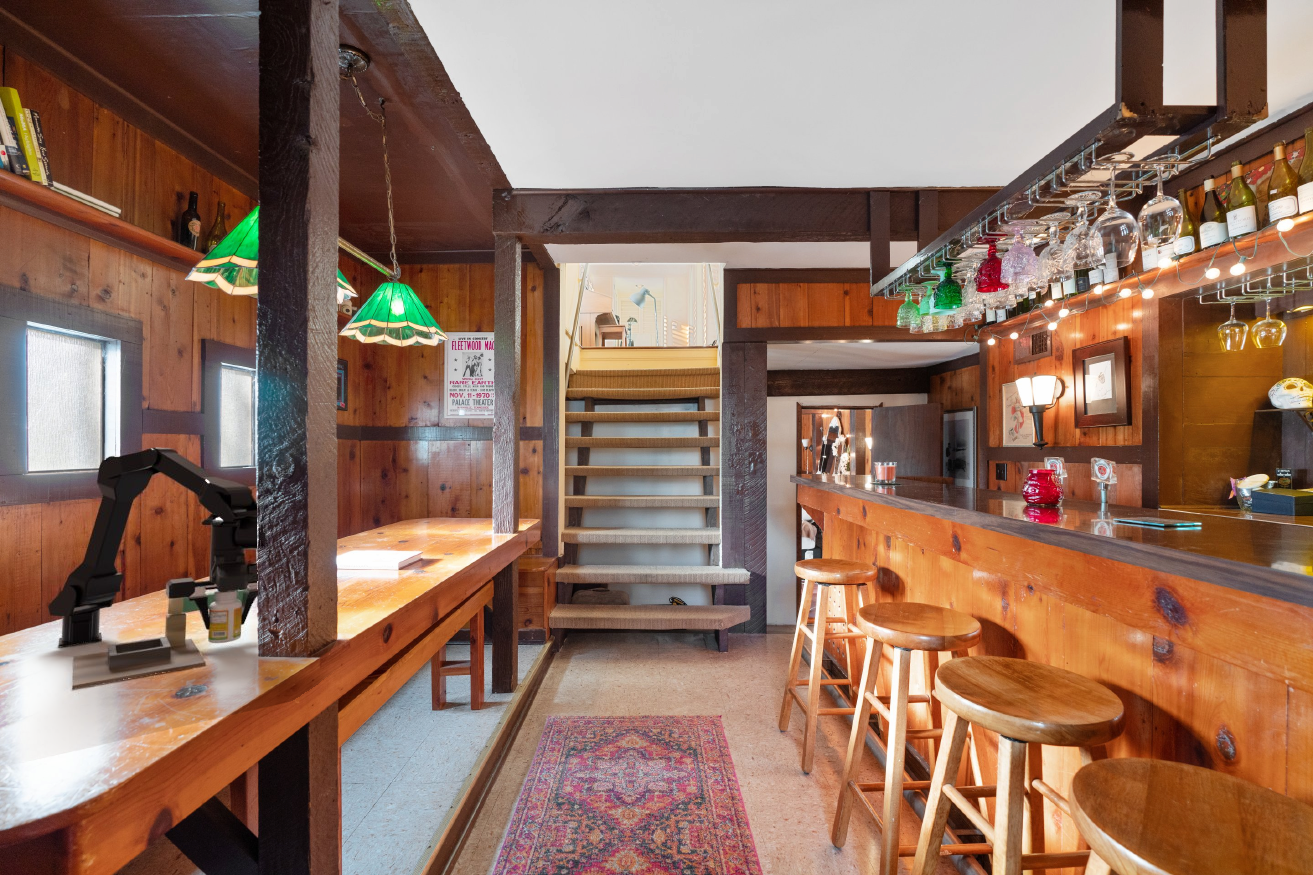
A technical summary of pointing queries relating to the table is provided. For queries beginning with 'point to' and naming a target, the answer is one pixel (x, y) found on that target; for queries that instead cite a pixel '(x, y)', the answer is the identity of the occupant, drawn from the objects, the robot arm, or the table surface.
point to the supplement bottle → (225, 617)
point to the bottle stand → (139, 657)
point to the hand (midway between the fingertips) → (225, 626)
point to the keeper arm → (191, 603)
